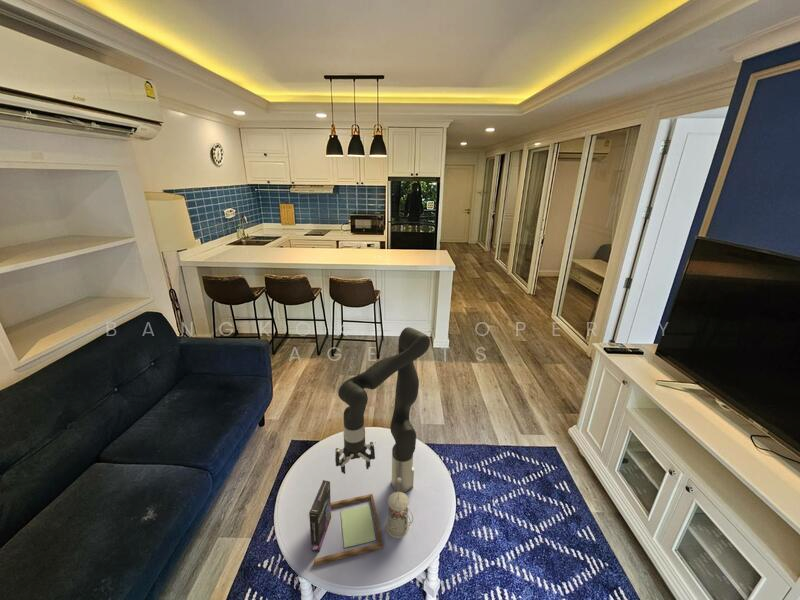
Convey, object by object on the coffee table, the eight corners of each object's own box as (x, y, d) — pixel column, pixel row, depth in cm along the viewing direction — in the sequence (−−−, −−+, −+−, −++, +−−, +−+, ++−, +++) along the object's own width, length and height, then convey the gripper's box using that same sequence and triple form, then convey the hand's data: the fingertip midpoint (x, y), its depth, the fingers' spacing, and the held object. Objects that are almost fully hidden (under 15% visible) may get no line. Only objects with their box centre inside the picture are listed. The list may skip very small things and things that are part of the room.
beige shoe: (396, 510, 137) (397, 463, 128) (418, 528, 130) (421, 479, 122) (380, 528, 129) (380, 479, 121) (403, 547, 122) (404, 497, 114)
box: (320, 552, 120) (317, 513, 114) (311, 551, 120) (307, 512, 114) (332, 517, 133) (330, 480, 127) (324, 515, 134) (321, 479, 127)
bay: (372, 497, 142) (372, 493, 141) (382, 548, 122) (382, 544, 121) (313, 509, 136) (313, 506, 135) (314, 565, 116) (313, 562, 115)
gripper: (372, 423, 121) (372, 458, 126) (333, 430, 117) (335, 465, 122) (376, 438, 114) (376, 474, 119) (334, 445, 110) (337, 482, 116)
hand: (355, 469), depth 121 cm, fingers open, 8 cm apart
